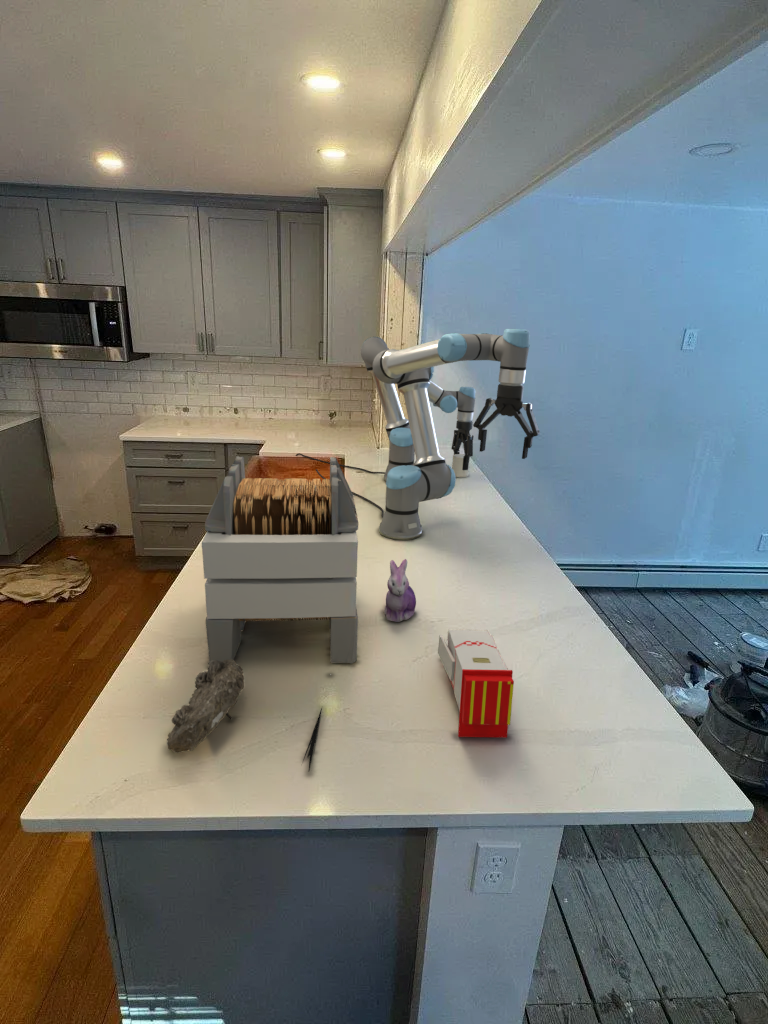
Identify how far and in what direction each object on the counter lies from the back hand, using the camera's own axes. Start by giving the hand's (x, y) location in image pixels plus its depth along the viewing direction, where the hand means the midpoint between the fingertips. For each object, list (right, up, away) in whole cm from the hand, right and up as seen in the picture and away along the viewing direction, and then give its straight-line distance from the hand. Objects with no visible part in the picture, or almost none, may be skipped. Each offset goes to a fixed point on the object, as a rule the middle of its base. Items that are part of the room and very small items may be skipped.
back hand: (460, 467), depth 274 cm
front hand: (0, -4, -100) cm, 100 cm away
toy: (-19, -59, -155) cm, 167 cm away
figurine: (-33, -48, -126) cm, 139 cm away
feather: (-49, -61, -165) cm, 183 cm away
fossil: (-70, -61, -166) cm, 190 cm away
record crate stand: (-61, -50, -134) cm, 155 cm away
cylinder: (0, -4, +1) cm, 4 cm away
